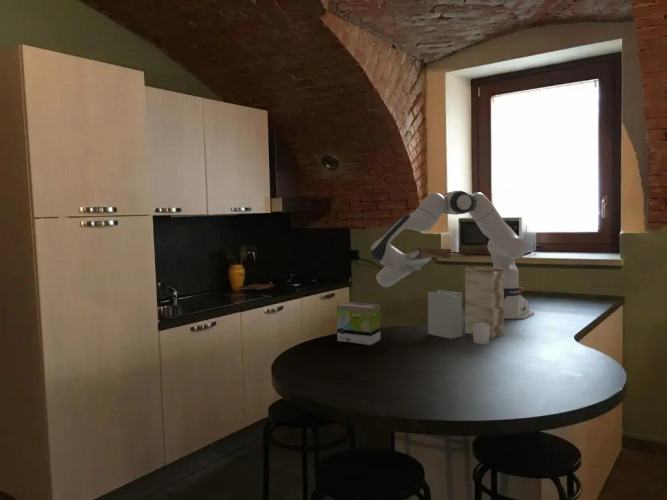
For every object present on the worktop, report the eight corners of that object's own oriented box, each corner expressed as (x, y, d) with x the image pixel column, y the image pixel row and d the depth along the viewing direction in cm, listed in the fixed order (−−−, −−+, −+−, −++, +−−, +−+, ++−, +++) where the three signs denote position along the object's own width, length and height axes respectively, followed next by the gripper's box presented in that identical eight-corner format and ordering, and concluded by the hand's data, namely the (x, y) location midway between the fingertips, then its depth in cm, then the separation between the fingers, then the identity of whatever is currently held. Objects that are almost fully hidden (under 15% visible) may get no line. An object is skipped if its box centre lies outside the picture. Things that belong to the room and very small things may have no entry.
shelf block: (477, 330, 229) (476, 266, 228) (503, 334, 219) (503, 268, 218) (465, 332, 224) (465, 268, 222) (492, 337, 214) (492, 270, 212)
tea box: (336, 342, 213) (335, 305, 212) (347, 336, 222) (347, 301, 221) (371, 345, 206) (370, 307, 205) (381, 340, 215) (380, 303, 214)
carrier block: (439, 331, 228) (438, 290, 227) (462, 335, 219) (462, 292, 218) (428, 334, 224) (427, 291, 222) (451, 338, 214) (451, 294, 213)
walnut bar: (417, 255, 233) (417, 247, 232) (451, 257, 219) (451, 249, 219) (412, 256, 230) (412, 248, 230) (445, 258, 217) (445, 249, 216)
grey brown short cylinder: (488, 340, 211) (488, 322, 210) (492, 344, 204) (492, 326, 204) (470, 340, 211) (470, 322, 211) (473, 344, 205) (473, 326, 204)
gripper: (383, 261, 232) (403, 246, 222) (415, 257, 245) (435, 243, 235) (388, 274, 230) (409, 259, 220) (420, 270, 243) (441, 256, 233)
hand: (423, 251), depth 228 cm, fingers closed on walnut bar, 3 cm apart
